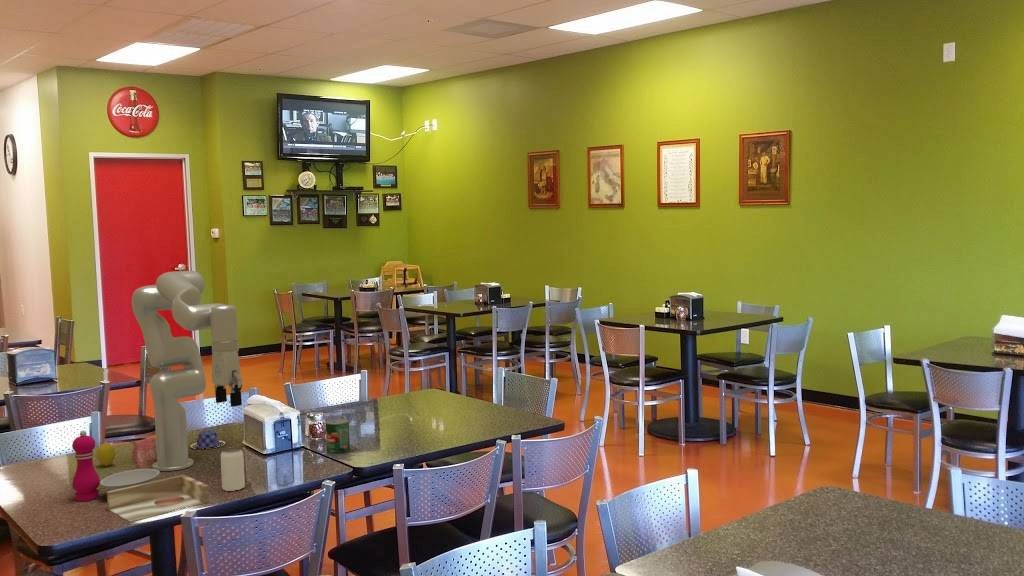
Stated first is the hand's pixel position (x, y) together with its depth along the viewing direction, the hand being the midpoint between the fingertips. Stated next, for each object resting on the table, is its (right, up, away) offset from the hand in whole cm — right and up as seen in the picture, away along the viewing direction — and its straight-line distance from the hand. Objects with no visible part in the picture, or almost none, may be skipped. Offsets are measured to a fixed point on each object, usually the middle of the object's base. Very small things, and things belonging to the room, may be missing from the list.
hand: (228, 404), depth 256 cm
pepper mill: (-40, -27, -4) cm, 48 cm away
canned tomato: (+24, -22, +40) cm, 52 cm away
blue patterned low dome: (-25, -23, +53) cm, 63 cm away
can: (+1, -26, +2) cm, 26 cm away
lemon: (-50, -25, +29) cm, 63 cm away
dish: (-29, -27, -1) cm, 39 cm away
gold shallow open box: (-15, -27, -13) cm, 34 cm away
